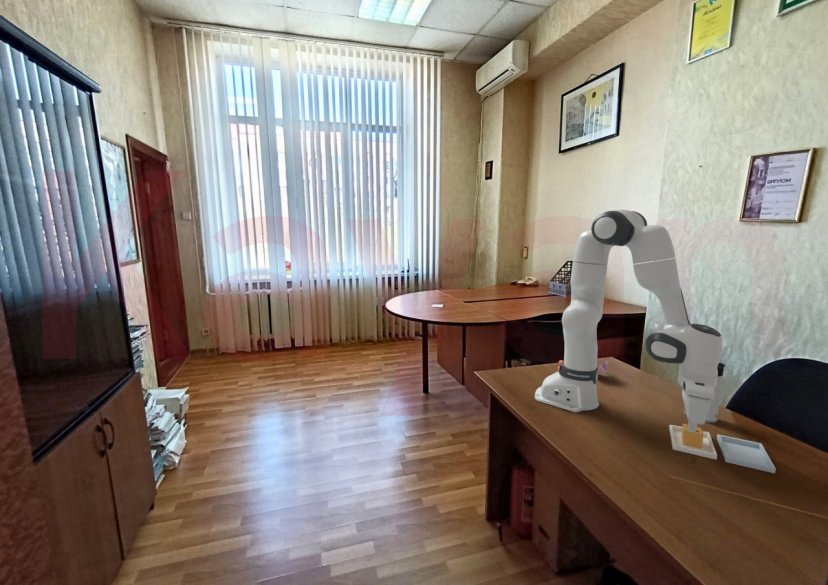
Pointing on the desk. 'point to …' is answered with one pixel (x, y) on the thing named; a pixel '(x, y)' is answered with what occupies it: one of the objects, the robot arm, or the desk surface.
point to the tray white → (678, 445)
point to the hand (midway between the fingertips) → (689, 423)
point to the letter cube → (692, 437)
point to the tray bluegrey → (745, 453)
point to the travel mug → (716, 397)
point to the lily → (603, 367)
